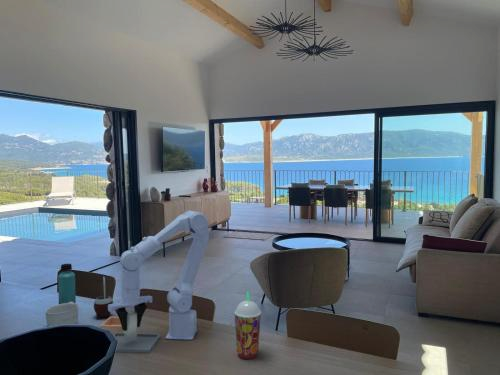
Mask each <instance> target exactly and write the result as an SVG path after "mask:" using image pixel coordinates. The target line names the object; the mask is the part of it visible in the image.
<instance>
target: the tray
mask: <svg viewBox="0 0 500 375" xmlns="http://www.w3.org/2000/svg"><path fill="white" fill-rule="evenodd" d="M114 335H115V337H116V338H117V340H118V346H117V350H116V352H115V353H126V354H128V353H129V354H150V353H151V351H152V350H153V349H154V347H155V346H156V345H157V343H158V341H159V340H160V338H161V333H151V332H150V333H149V332H147V333H146V332H145V333H144V332H143V333H141V332H137V338H136V339H133V340H126V339H125V333H116V332H115V333H114Z"/></svg>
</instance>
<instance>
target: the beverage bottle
mask: <svg viewBox="0 0 500 375" xmlns="http://www.w3.org/2000/svg"><path fill="white" fill-rule="evenodd" d="M72 269H73V266H72V263H62V264H61V265H60V271H62V272H60V273H59V274H58V275H57V278H58V282H57V283H58V286H57V288H58V296H57V297H58V304H63V303H69V302H74V303H76V304H77V300H76V299H77V297H76V295H77V294H76V293H77V292H76V277H75V276H76V273H75V272H73V271H71V270H72Z"/></svg>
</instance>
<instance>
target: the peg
mask: <svg viewBox="0 0 500 375" xmlns="http://www.w3.org/2000/svg"><path fill="white" fill-rule="evenodd" d="M127 312H128V315H127V331H125V339H126V340H133V339H136V338H137V333H138V327H137V312H135V311H133V310H132V311H127Z"/></svg>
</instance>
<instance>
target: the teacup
mask: <svg viewBox="0 0 500 375" xmlns="http://www.w3.org/2000/svg"><path fill="white" fill-rule="evenodd" d="M78 307H79V304H77V302H76V303H74V302H69V303H63V304H59V303H58V304H54V305H52V306H50V307H48V308H47V309H45V312H44V313H45V320H46V325H47V328H48V327H49V326H55V325H61V324H75V325H76V324H77V323H78V321H79V308H78Z"/></svg>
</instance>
